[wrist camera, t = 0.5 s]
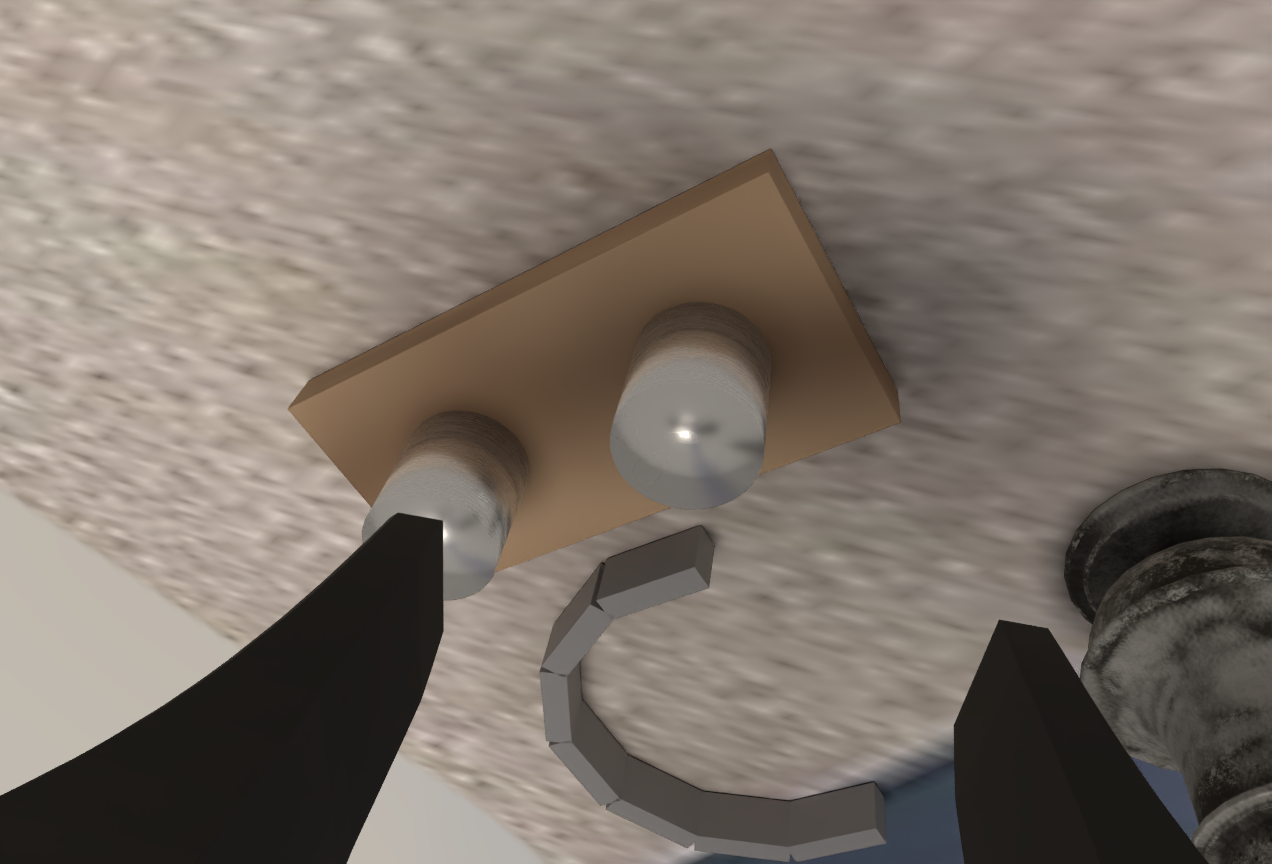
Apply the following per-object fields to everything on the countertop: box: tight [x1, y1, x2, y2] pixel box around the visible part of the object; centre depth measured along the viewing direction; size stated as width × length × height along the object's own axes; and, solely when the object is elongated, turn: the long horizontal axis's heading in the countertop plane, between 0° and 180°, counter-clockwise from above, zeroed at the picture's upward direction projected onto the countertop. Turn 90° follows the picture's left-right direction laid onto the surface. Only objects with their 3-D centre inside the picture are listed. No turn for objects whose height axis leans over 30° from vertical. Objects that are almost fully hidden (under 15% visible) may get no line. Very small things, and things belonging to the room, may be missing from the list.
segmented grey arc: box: [540, 526, 886, 862], centre depth 29 cm, size 11×7×2 cm, turn 30°
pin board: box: [288, 149, 901, 600], centre depth 22 cm, size 6×12×4 cm, turn 120°
